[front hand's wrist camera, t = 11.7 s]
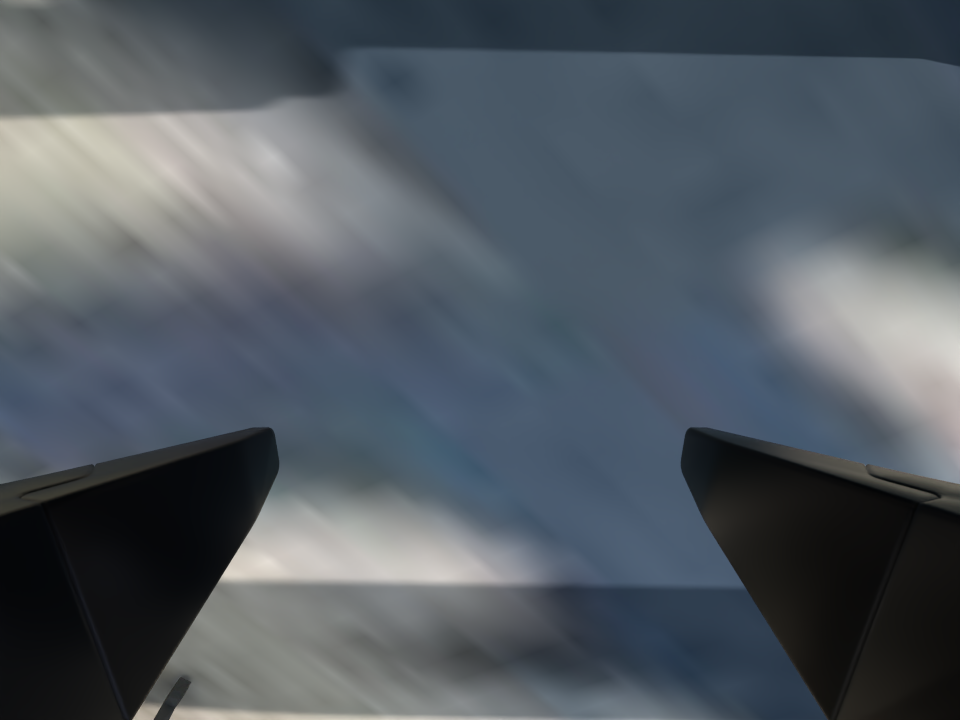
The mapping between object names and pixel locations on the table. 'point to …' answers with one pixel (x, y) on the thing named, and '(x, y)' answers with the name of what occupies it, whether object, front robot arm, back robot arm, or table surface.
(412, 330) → the table surface
